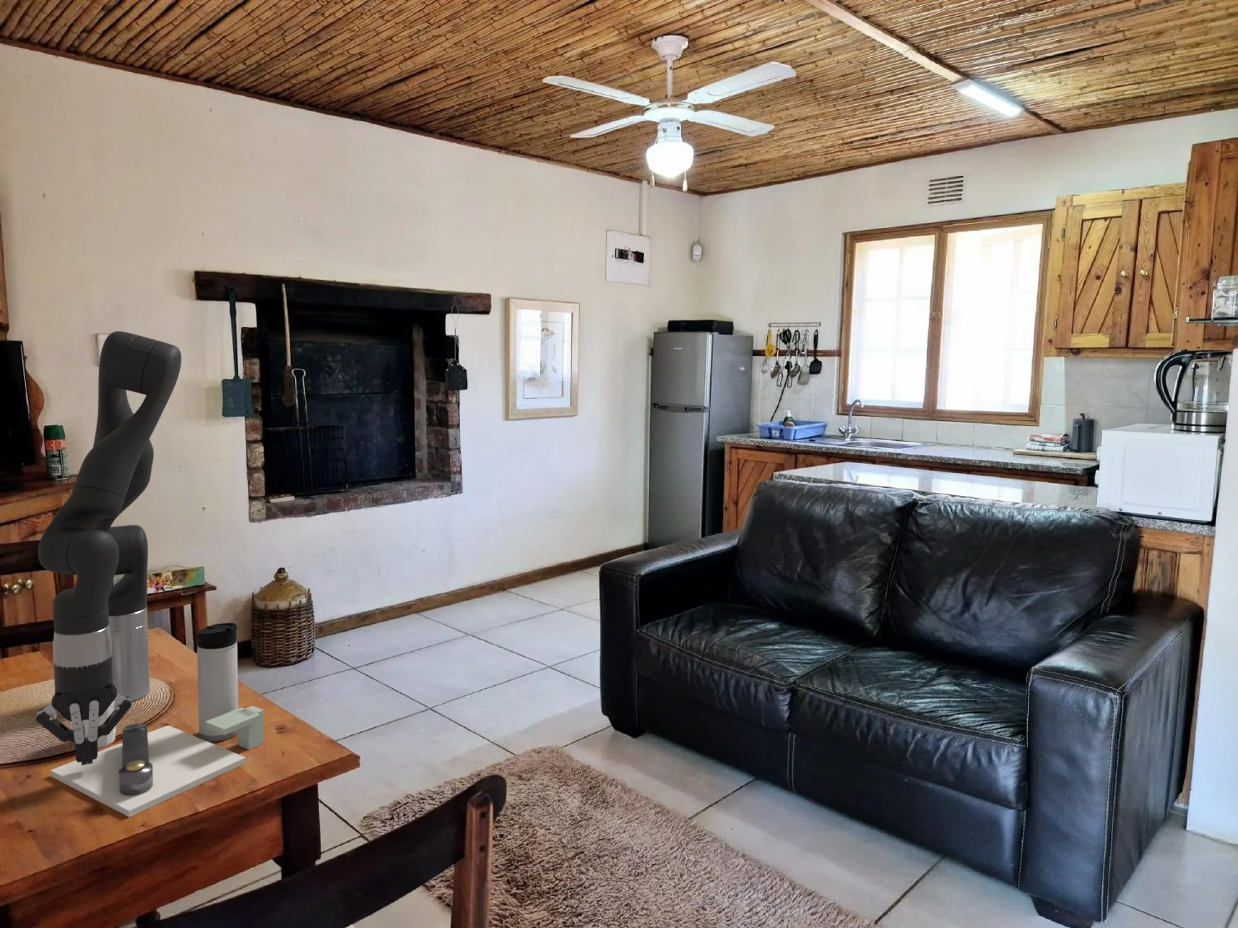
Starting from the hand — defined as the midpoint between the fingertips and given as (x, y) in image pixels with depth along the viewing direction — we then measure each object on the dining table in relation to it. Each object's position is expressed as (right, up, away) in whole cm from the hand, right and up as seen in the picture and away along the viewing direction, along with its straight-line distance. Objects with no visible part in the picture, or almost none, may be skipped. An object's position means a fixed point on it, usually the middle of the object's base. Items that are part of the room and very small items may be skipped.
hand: (87, 762), depth 127 cm
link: (+6, -1, +2) cm, 7 cm away
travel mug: (+13, -1, +16) cm, 21 cm away
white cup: (-6, -1, +12) cm, 13 cm away
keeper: (+18, -2, +11) cm, 21 cm away
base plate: (+8, -2, +3) cm, 9 cm away
